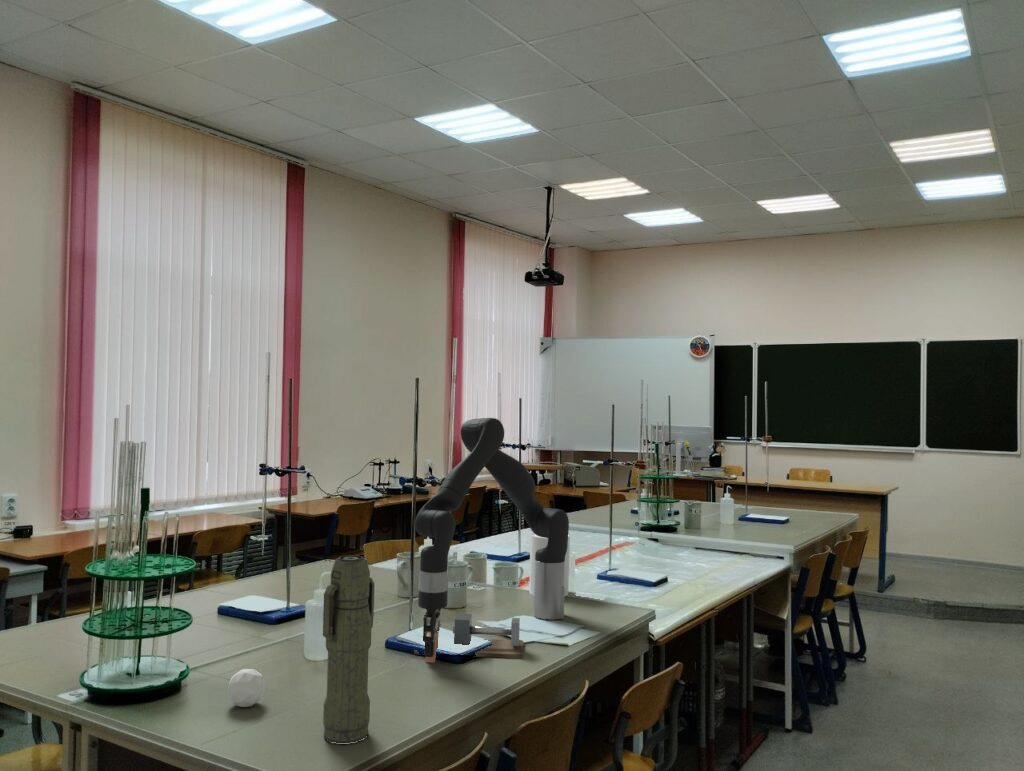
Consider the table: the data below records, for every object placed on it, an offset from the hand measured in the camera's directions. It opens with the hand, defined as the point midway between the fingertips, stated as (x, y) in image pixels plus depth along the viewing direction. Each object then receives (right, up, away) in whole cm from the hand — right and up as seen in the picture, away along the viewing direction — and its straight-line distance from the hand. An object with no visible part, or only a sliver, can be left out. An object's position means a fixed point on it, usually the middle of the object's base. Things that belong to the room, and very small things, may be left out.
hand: (431, 651), depth 206 cm
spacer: (0, -2, 0) cm, 2 cm away
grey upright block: (+7, -1, +9) cm, 12 cm away
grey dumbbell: (+14, 0, +9) cm, 16 cm away
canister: (+33, -4, +73) cm, 80 cm away
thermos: (-12, -1, -47) cm, 49 cm away
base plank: (+9, -2, +9) cm, 13 cm away
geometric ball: (-36, -1, -33) cm, 49 cm away
